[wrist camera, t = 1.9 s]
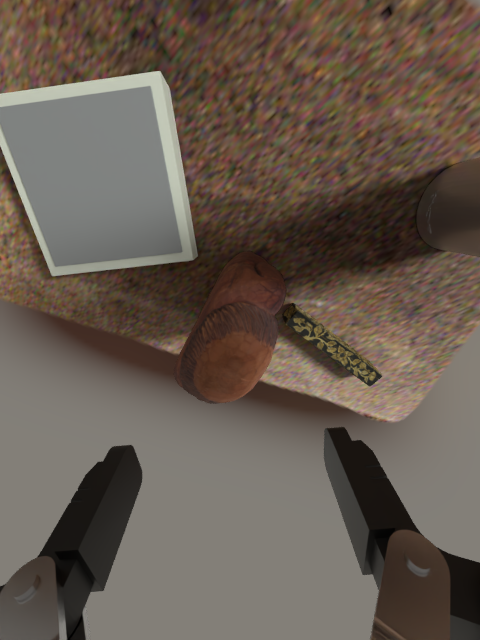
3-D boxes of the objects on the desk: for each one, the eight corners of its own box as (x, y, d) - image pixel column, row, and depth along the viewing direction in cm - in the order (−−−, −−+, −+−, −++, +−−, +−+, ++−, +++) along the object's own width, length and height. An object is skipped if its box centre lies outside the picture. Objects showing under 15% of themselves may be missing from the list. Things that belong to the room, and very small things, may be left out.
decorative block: (371, 362, 37) (384, 376, 34) (359, 373, 38) (370, 388, 34) (292, 300, 33) (298, 309, 30) (280, 314, 34) (285, 324, 31)
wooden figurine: (234, 338, 35) (229, 451, 19) (192, 317, 34) (147, 416, 17) (282, 264, 31) (331, 322, 15) (237, 236, 30) (234, 265, 13)
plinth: (169, 87, 25) (158, 68, 21) (197, 255, 31) (193, 260, 28) (10, 110, 25) (-23, 95, 22) (69, 270, 31) (50, 276, 28)
